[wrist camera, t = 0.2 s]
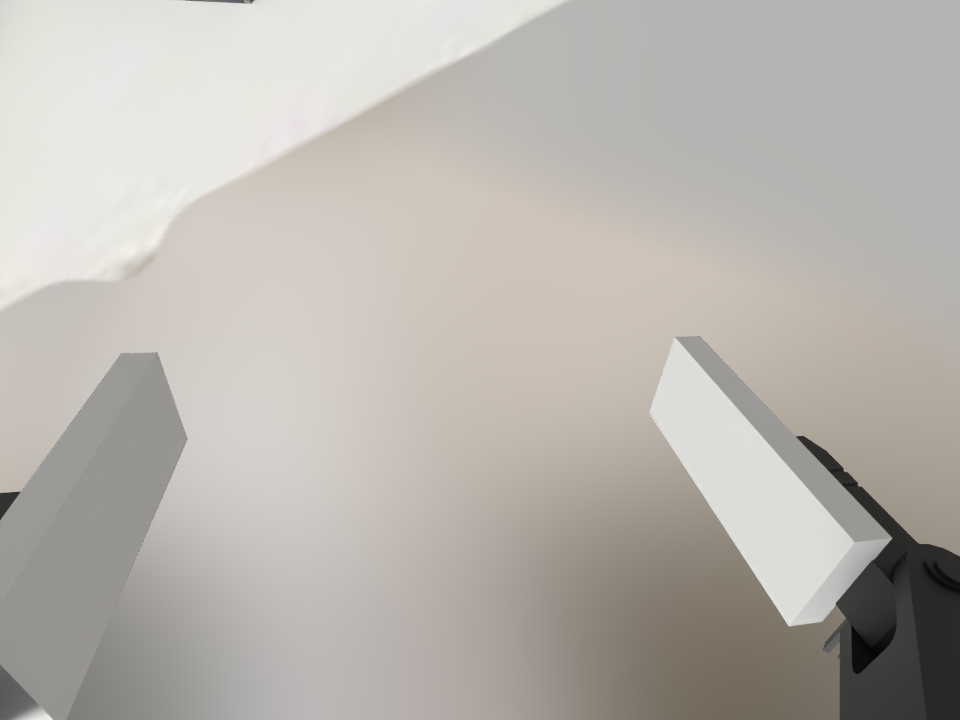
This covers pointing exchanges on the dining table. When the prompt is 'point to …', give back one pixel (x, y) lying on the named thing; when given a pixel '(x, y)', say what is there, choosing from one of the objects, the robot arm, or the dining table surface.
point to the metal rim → (229, 0)
